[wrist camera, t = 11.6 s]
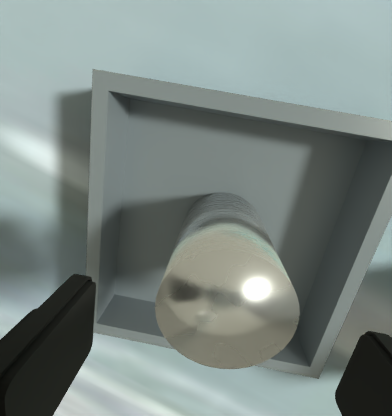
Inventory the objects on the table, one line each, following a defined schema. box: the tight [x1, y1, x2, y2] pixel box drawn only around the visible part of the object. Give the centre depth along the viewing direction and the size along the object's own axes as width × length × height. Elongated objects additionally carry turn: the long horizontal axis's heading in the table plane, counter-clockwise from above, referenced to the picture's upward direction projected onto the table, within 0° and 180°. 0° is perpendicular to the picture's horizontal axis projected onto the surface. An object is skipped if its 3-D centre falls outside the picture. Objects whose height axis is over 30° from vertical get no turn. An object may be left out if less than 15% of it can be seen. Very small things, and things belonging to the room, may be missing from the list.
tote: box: [86, 69, 392, 379], centre depth 16 cm, size 16×16×4 cm
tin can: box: [155, 192, 300, 369], centre depth 13 cm, size 5×5×8 cm
